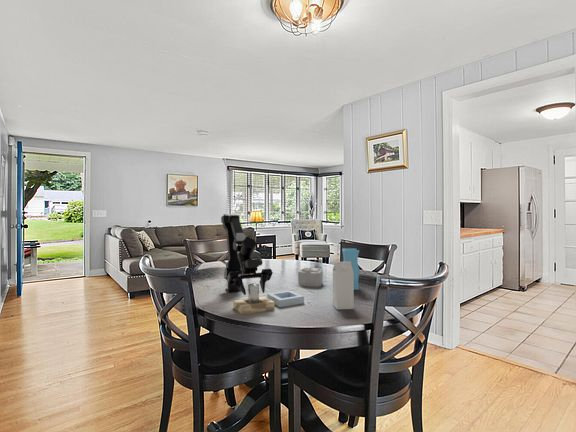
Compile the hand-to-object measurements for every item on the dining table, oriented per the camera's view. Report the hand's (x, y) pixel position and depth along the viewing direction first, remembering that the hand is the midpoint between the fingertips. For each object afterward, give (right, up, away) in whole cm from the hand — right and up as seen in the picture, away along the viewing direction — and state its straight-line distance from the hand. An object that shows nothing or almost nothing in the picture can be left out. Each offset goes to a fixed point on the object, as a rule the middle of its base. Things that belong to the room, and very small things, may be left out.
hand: (254, 293), depth 135 cm
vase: (+46, -6, +35) cm, 58 cm away
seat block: (+13, -6, +11) cm, 18 cm away
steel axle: (0, -7, +1) cm, 7 cm away
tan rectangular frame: (0, -7, +1) cm, 7 cm away
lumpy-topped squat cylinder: (+26, -6, +45) cm, 52 cm away
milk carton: (+37, -6, +3) cm, 37 cm away
